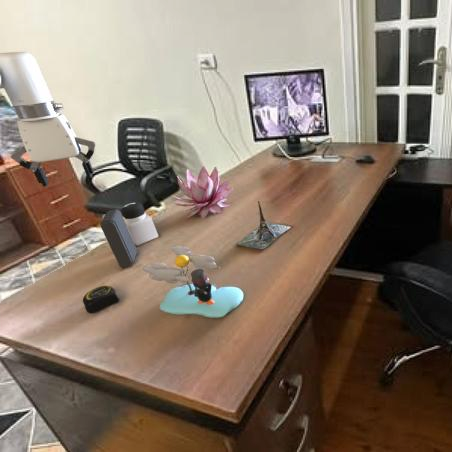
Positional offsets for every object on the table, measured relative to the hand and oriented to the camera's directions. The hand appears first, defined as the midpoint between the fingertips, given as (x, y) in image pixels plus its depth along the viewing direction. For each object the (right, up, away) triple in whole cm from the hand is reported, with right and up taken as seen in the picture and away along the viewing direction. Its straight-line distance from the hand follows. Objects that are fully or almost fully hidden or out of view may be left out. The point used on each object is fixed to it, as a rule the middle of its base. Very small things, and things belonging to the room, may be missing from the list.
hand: (68, 180), depth 89 cm
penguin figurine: (+36, -31, -6) cm, 48 cm away
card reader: (+7, -22, +15) cm, 27 cm away
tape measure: (+11, -31, -3) cm, 34 cm away
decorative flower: (+21, -6, +40) cm, 46 cm away
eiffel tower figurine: (+46, -15, +20) cm, 53 cm away
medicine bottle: (+5, -16, +26) cm, 31 cm away
